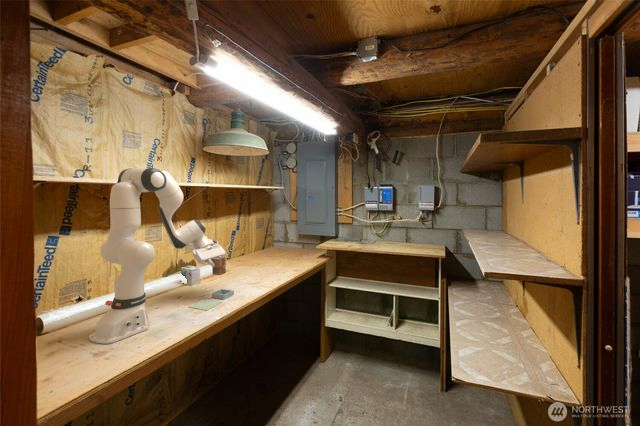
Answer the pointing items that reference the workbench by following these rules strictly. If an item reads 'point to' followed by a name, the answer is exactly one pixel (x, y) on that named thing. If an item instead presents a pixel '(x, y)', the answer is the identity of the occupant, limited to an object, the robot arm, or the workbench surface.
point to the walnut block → (219, 266)
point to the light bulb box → (191, 274)
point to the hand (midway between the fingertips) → (218, 264)
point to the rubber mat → (205, 304)
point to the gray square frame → (220, 295)
